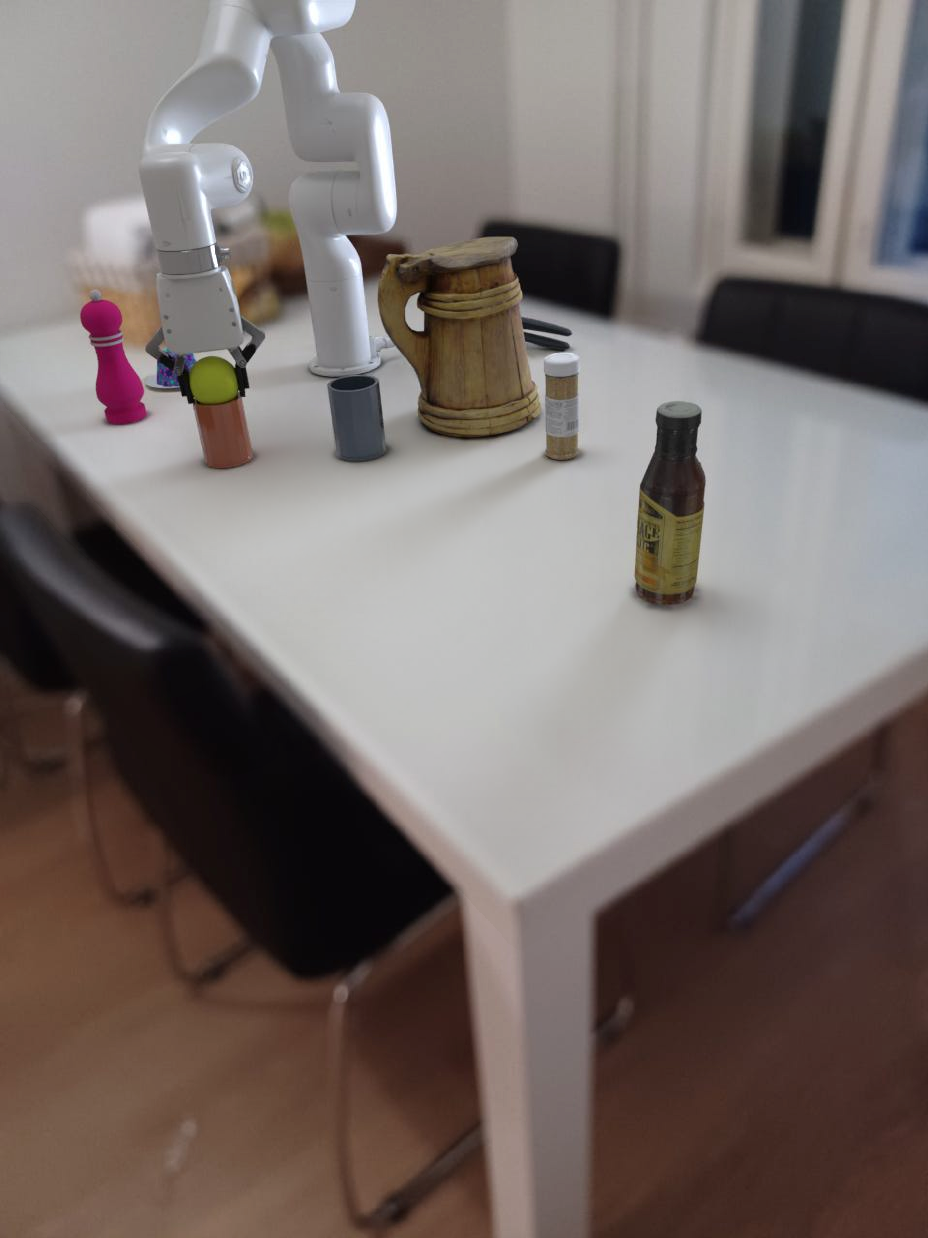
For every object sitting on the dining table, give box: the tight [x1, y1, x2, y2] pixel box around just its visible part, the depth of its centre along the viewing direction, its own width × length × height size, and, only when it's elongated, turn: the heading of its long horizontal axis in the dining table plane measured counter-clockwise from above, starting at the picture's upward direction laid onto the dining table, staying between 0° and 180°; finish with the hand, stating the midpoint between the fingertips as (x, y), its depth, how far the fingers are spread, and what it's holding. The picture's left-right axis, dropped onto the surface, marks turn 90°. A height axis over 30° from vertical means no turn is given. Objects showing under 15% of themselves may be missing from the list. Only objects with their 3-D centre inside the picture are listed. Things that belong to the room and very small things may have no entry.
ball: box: [189, 355, 239, 405], centre depth 130 cm, size 7×7×7 cm
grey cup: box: [326, 374, 387, 463], centre depth 132 cm, size 7×7×10 cm
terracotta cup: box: [192, 391, 254, 469], centre depth 133 cm, size 7×7×9 cm
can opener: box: [521, 316, 573, 351], centre depth 172 cm, size 18×7×6 cm, turn 58°
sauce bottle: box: [633, 400, 707, 606], centre depth 92 cm, size 7×6×20 cm
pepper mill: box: [79, 289, 148, 426], centre depth 148 cm, size 7×7×20 cm
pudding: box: [144, 348, 198, 389], centre depth 167 cm, size 12×12×5 cm
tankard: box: [377, 236, 542, 438], centre depth 137 cm, size 18×24×25 cm
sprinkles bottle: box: [543, 352, 580, 461], centre depth 126 cm, size 5×5×13 cm
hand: (216, 396), depth 131 cm, fingers closed on ball, 6 cm apart
